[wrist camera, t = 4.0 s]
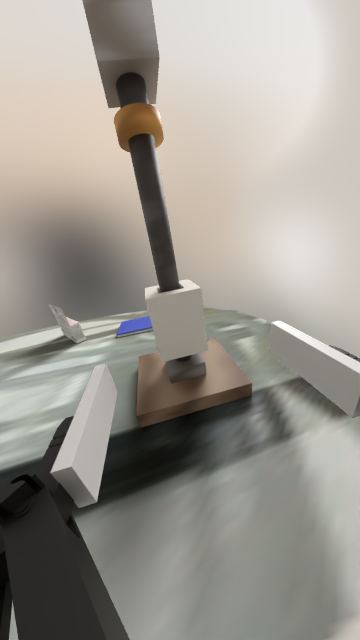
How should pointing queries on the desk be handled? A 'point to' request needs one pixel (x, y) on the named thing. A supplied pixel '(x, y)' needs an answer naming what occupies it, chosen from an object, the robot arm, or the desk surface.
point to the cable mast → (154, 206)
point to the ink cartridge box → (68, 326)
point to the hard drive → (135, 326)
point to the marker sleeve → (177, 320)
